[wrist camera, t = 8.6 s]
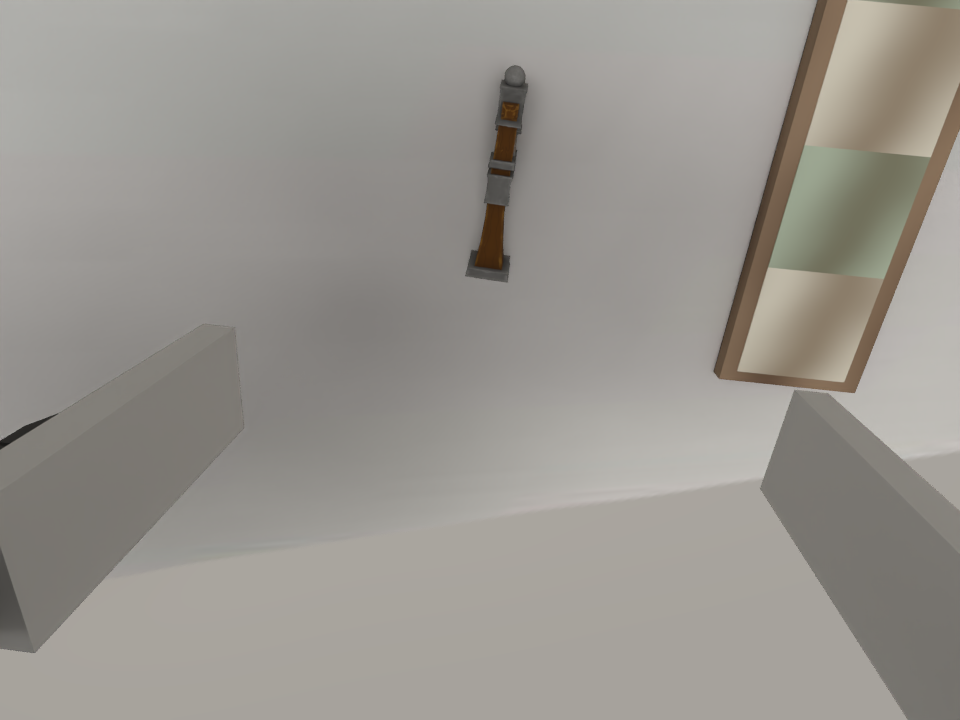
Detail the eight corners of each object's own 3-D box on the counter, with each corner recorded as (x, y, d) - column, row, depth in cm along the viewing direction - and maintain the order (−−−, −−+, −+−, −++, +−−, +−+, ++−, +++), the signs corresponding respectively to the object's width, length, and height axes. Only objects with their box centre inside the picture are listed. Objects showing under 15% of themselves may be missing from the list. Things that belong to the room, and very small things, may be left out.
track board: (713, 371, 27) (719, 379, 26) (930, -400, 17) (949, -425, 16) (845, 385, 27) (855, 393, 26) (1143, -384, 17) (1173, -409, 16)
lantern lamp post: (507, 284, 23) (542, 73, 18) (464, 278, 23) (488, 66, 18) (512, 239, 27) (543, 53, 22) (475, 234, 27) (498, 46, 22)
